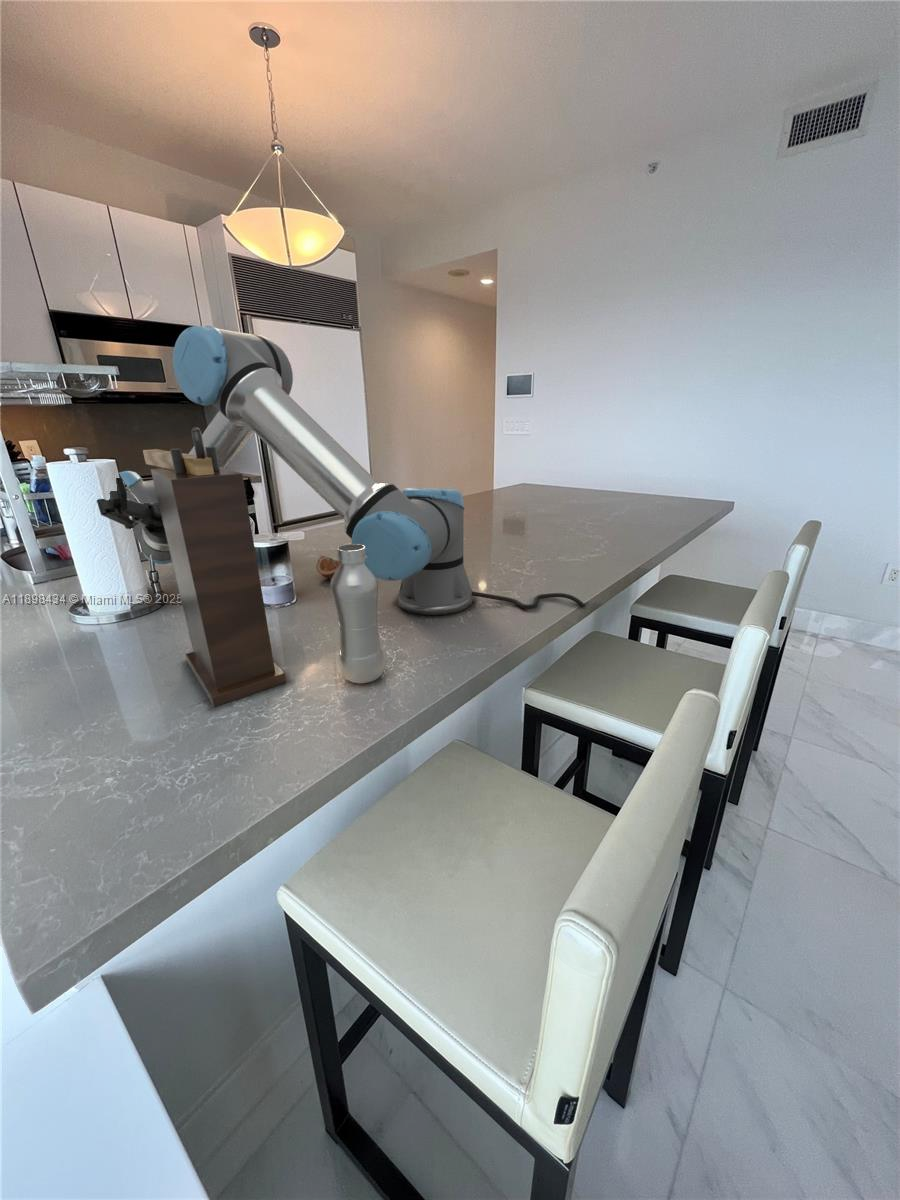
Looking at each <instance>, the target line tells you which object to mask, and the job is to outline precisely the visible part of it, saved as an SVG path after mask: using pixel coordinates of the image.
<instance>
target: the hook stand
mask: <svg viewBox="0 0 900 1200" xmlns="http://www.w3.org/2000/svg"><path fill="white" fill-rule="evenodd" d="M205 450H206V455H207V457H209V458H211V459H212V465H213V470H214V475H205V476H195V475H191V474H187V473H186V471H185V466H184V461H183V456H182V453H183V451H182V449H181V448H170V449H169V451H170V452H171V456H172V461H173V466H174V470H175V471H174V470H170V469H165V468H161V467H159V468H151V469H150V472H151V477H152V480H153V481H154V486H155V490H156V494H157V499H158V503H159V507H160V511H161V516H162V520H163V524H164V528H165V533H166V537H167V541H168V546H169V550H170V554H171V558H172V562H171V563H172V566H173V571H174V576H175V579H176V584H177V587H178V592H179V596H180V601H181V605H182V609H183V613H184V618H185V623H186V626H187V632H188V635H189V639H190V644H191V648H192V651H191V652H188V653H185V658H186V662H187V665H188V666H189V667H190V669H191V671H192V672H193V674H194V676H195V678H196V679H197V681H198V683H199V684H200V686H201V688H202V690H203V691H204V693H205V695H206V697H207V698H208V699H209V701H210V703H211V704H212V706H213V708H216V707H219V706H222V705H225V704H227V703H230V702H233V701H236V700H239V699H242V698H245V697H248V696H251V695H254V694H256V693H260V692H263V691H265V690H268V689H272V688H274V687H277V686H280V685H283V684H286V683H287V679H286V674H285V672H284V671H283V670H282V668H280V666H278V665H277V664H276V662H275V661H274V656H273V650H272V644H271V638H270V632H269V627H268V620H267V615H266V607H265V602H264V596H263V590H262V584H261V578H260V571H259V566H258V565H259V564H258V560H257V554H256V547H255V542H254V535H253V531H252V525H251V524H252V523H251V518H250V511H249V507H248V501H247V495H246V494H247V493H246V488H245V482H244V481H245V480H244V476H243V473H241V472H239V471H234V470H232V469H229V468H226V469H225V468H222V467H219V464H218V458H217V453H216V448H215V447H205Z"/></svg>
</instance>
